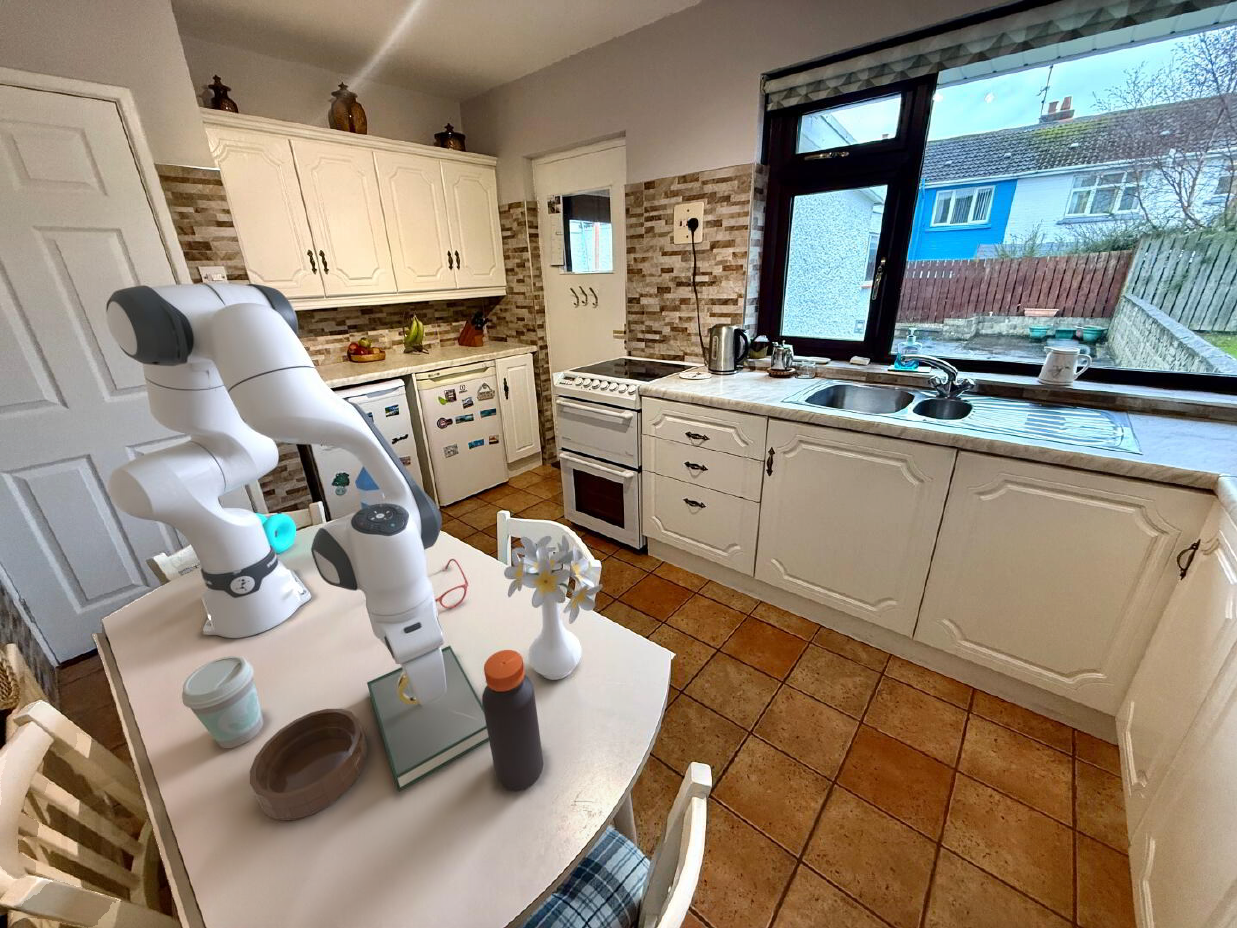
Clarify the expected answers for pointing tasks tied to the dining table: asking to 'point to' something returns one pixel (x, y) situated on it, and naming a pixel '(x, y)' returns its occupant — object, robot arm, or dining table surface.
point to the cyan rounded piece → (279, 531)
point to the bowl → (308, 764)
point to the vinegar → (512, 721)
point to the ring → (401, 687)
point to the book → (428, 723)
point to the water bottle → (368, 489)
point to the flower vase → (552, 601)
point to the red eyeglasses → (454, 587)
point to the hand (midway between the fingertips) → (421, 682)
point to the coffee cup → (225, 700)
